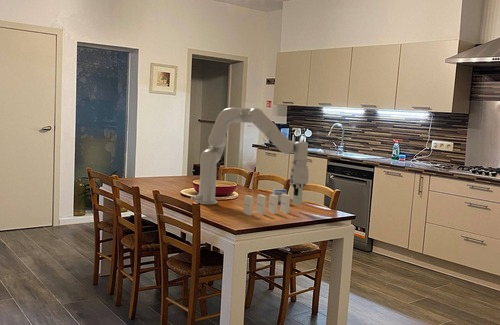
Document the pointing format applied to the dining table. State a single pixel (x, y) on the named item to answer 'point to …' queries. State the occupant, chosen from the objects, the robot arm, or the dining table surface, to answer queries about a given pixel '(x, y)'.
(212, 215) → the dining table surface
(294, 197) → the domino
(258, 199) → the domino
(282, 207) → the domino
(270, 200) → the domino
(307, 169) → the robot arm
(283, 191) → the medicine box
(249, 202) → the domino
